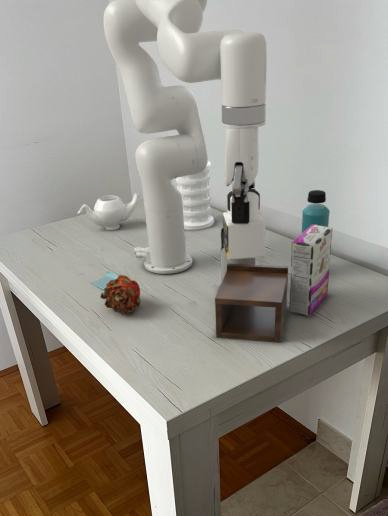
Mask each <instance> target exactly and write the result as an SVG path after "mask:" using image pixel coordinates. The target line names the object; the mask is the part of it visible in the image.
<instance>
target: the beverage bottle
mask: <svg viewBox="0 0 388 516" xmlns="http://www.w3.org/2000/svg"><path fill="white" fill-rule="evenodd" d="M307 193H308V194H307V199H306V201H307V203H310V204H308V205H306V206H305V207H304V208H303V209H302V210H301V211H302V212H301V213H302V216H301V218H302V219H301V233H300V235H301V234H302V233H303V232H304V231H305V230H307V229H308V228H309V227H310V226H311V225H318V226H319V225H321V226H327V227H329V223H330V212H331V211H330V209H329V208H328V207H327V206H326V205H325V204H323V203H326V202H327V201H326V200H327V198H326V197H327V196H326V191H324V190H320V189H313V190H310V191H308V192H307Z"/></svg>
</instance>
